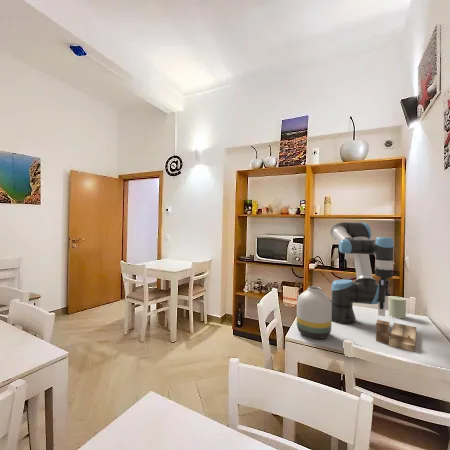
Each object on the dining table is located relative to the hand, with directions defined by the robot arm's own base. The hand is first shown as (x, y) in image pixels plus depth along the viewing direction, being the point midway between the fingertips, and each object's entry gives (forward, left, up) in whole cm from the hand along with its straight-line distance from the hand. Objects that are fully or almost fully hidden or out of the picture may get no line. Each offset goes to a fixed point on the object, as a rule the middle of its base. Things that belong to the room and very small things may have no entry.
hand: (383, 312), depth 129 cm
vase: (-29, -14, -14) cm, 35 cm away
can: (+3, +46, -14) cm, 49 cm away
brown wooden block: (+5, 0, -14) cm, 15 cm away
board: (+8, +10, -14) cm, 19 cm away
